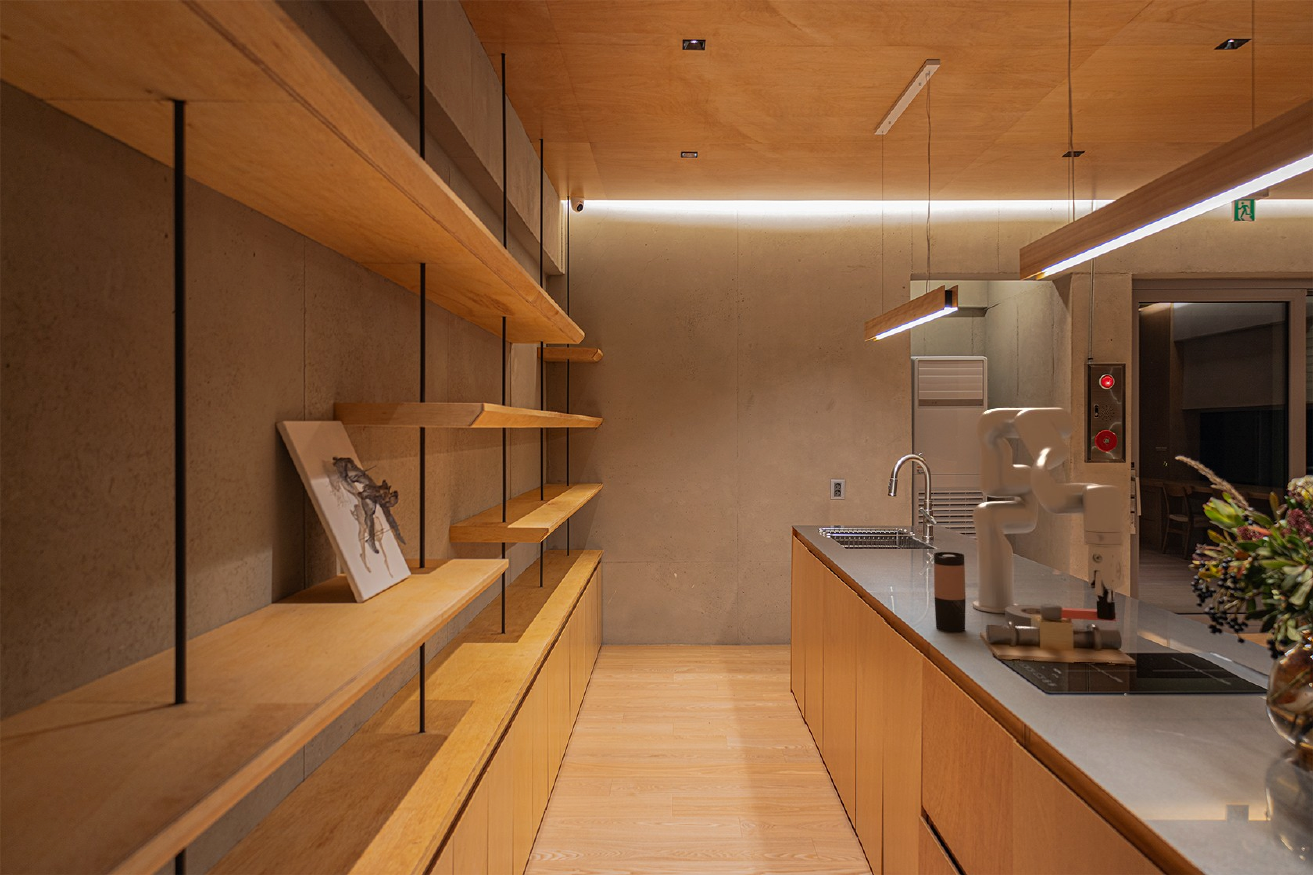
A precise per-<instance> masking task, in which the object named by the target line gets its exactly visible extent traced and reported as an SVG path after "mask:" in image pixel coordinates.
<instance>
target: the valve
mask: <svg viewBox="0 0 1313 875" xmlns="http://www.w3.org/2000/svg"><path fill="white" fill-rule="evenodd" d="M985 633H986V636H987V641H988V643H990V644H1009V645H1010V646H1011V647H1016V646H1017V645H1036V646H1037V647H1038V648H1039V649H1040V650H1062V651H1074V649H1073V647H1082V648H1092V649H1094V650H1095V651H1101V649H1102V648H1104V649H1119V650H1120V649H1121V648H1122V644H1123V641H1122V640H1123V639H1122V635H1121V633H1120V630H1118V629H1112V628H1110V629H1109V628H1100V627H1099V626H1098V625H1097V624H1095V623H1094V624H1093V623H1092V624H1090V623H1089V624H1087V626H1086V627H1085V628H1083V627H1082V628H1081V627H1074V623H1073V621H1072V622H1071V621H1069V620H1068V619H1066V618H1062V619H1060V620H1051V619H1045V618H1042V617H1041V615H1035V614H1031V626H1015V624H1014V622H1013V621H1006V622H1005V621H1004V625H1003V624H987V625H986V628H985Z"/></svg>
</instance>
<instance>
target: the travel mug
mask: <svg viewBox="0 0 1313 875" xmlns="http://www.w3.org/2000/svg"><path fill="white" fill-rule="evenodd" d="M933 563H934V564H933V573H934V574H933V580H934V581H933V582H934V583H933V584H934V593H933V594H934V610H935V611H934V612H935V614H934V615H935V629H937V630H938V631H940V632H944V633H949V634H951V633H952V634H959V633H963V632H965V631H966V607H967V606H966V604H967V602H966V600H967V599H966V596H967V595H966V571H965V569H966V568H965V567H966V566H965V565H966V564H965V554H963V553H962V552H961V553H959V552H953V551H940V552H939V551H938V552H934V554H933Z"/></svg>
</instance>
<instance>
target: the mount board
mask: <svg viewBox="0 0 1313 875" xmlns="http://www.w3.org/2000/svg"><path fill="white" fill-rule="evenodd" d="M979 637H980V639H981V640H982V642H984V643H985V645H986V646H987V647H988V648H989V650H990V651H991V652H992V654H994V656H995V657H996V658H997V659H998V660H1012V659H1020V660H1019V661H1033V660H1034V661H1033V662H1035V661H1037V662H1055V663H1056V662H1058V663H1074V662H1109V663H1111V662H1112V663H1127V664H1135V665H1136V660H1134V659H1133V658H1132V657H1130V656H1129V655H1127V654H1126V653H1125V652H1123V651H1122V650H1120V649H1104V648H1102V649H1101V651H1095V650H1094V649H1092V648H1082V647H1073V649H1074V651H1062V650H1040V649H1039V648H1038V647H1037V646H1036V645H1017V646H1016V647H1011V646H1010V645H1009V644H990V643H988V641H987V636H986V632H979Z"/></svg>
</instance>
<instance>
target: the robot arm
mask: <svg viewBox="0 0 1313 875" xmlns="http://www.w3.org/2000/svg"><path fill="white" fill-rule="evenodd" d="M1074 419H1075V418H1074V417H1073V415H1072V414H1071V413H1070V412H1069V411H1068V409H1067V410H1066V409H1065V408H1063V407H1018V408H1016V407H1011V408H1010V407H1002V408H1001V407H1000V408H993V409H988V410H986V411H984V412H982V413H981V415H980V416H979V417H978V419H977V424H976V433H977V439H978V442H979V449H980V454H979V455H980V457H979V459H980V460H979V462H980V463H979V489H980V492H981V493H982V494H983V495H984V496H985V497H989V498H1014V500H1008V501H1006V500H1005V501H1004V500H1003V501H1002V500H1001V501H999V500H996V501H995V500H994V501H986V502H981V503H979V504H977V505H976V506H975V508H973V512H972V521H973V525H974V530H975V536H976V538H975V539H976V553H977V554H976V555H977V594H978V595H977V596H978V597H977V598H978V599H977V600H975V601H973V602H972V607H973V608H974V609H976V610H979V611H982V612H987V613H992V614H993V613H994V614H1005V608H1006V607H1008V606H1013V605H1019V604H1018V603H1015V583H1014V582H1015V579H1014V576H1015V574H1014V551H1013V547H1012V544H1011V543H1010V542H1009V540H1008V539H1007V538H1006V536H1005V535H1008V534H1027V533H1031V532H1032V531H1033V530H1035V528H1036V527H1037V524H1038V521H1039V504H1040V505H1041V507H1042V508H1043V509H1044V510H1045V511H1046V512H1047V513H1049V514H1052V515H1063V516H1064V515H1083V518H1082V521H1083V542H1084V543H1083V544H1084V546H1088V547H1087V548H1088V552H1087V579H1088V586H1089V588H1090V589H1091V590H1094V596H1095V598H1096V599H1095V600H1096V609H1097V618H1099V619H1105V620H1114V619H1115V612H1116V606H1115V605H1116V602H1115V597H1116V596H1115V595H1116V594H1115V592H1116V590H1118V589H1120V588H1122V587H1123V586H1124V585H1125V575H1124V574H1125V573H1124V562H1123V555H1122V547H1123V546H1124V542H1123V541H1124V537H1123V532H1124V531H1123V510H1122V509H1123V508H1122V491H1121V489H1120V488H1119V487H1118V486H1116V485H1113V484H1112V485H1110V484H1107V485H1106V484H1097V483H1094V482H1069V483H1068V482H1067V483H1066V482H1064V483H1060V482H1057V483H1056V482H1055V480H1054V479H1053V477H1052V476H1051V474H1050V472H1049V471H1050V470H1052V469H1054V468H1056V467H1058V466H1059V465H1061V464H1062V463H1063V462H1065V461H1066V460H1067V459H1068V457H1069V456H1070V452H1071V450H1070V447H1069V445H1068V444H1067V442H1066V441H1065V439H1067V438H1069V437H1071V436H1072V434H1073V433H1074V431H1075V428H1076V426H1075V420H1074ZM1012 438H1013V439H1019V438H1020V439H1021V441H1022V443H1023V445H1024V446H1025V447H1026V449H1027V451H1028V452H1029V454H1030V456H1031V457H1032V459H1033V463H1032V465H1031V466H1030V465H1026V464H1013V456H1014V453H1013V448H1012V446H1011V445H1010V442H1009V441H1008V440H1007V439H1012Z"/></svg>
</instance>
